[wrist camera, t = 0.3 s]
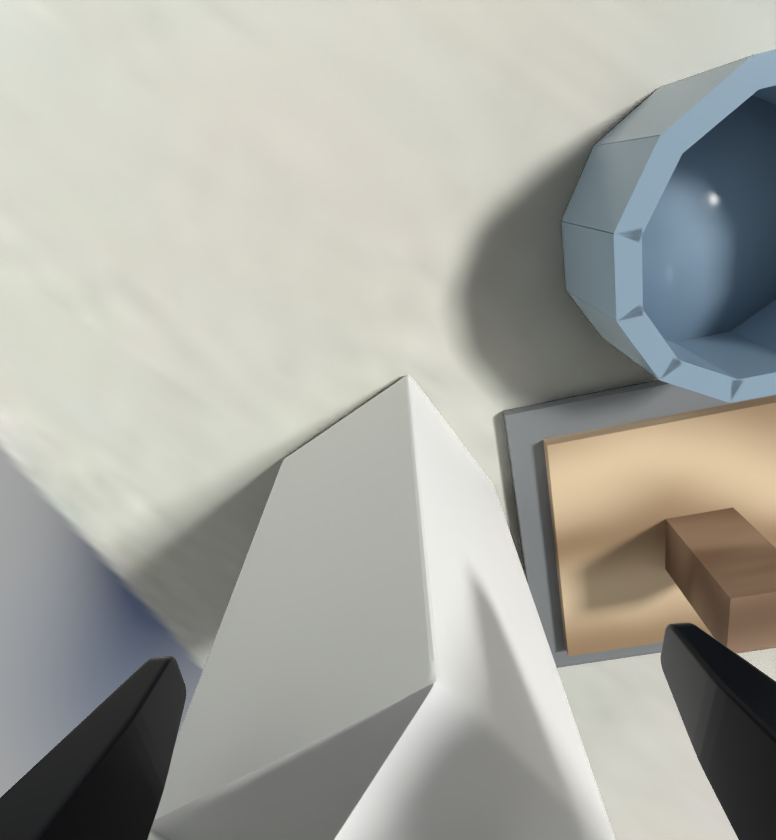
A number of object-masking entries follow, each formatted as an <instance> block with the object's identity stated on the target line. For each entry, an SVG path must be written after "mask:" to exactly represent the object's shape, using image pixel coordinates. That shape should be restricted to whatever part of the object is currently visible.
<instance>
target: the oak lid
mask: <svg viewBox="0 0 776 840" xmlns="http://www.w3.org/2000/svg"><path fill="white" fill-rule="evenodd" d="M543 441H544V451H545V460H546V470H547V480H548V489H549V499H550V508H551V518H552V527H553V537H554V547H555V556H556V566H557V575H558V585H559V595H560V604H561V614H562V623H563V633H564V643H565V649H566V651H567V654H568V656H575V655H581V654H588V653H595V652H601V651H608V650H615V649H621V648H628V647H635V646H641V645H648V644H655V643H661V642H663V639H664V633H665V629H666V627H667V625H668V624H673V623H692V624H694V625H696V626H698V627H699V628H700V629H702V630H703V631H705V632H706V633H708V634H709V635H713V637H714V638H715V639H716V640H717V641H719V642H720V643H722V644H723V645H725V646H726V647H727V648H729V649H730V650H732V651H733V652H735V653H743V652H749V651H756V650H763V649H770V648H776V395H774V396H769V397H764V398H758V399H753V400H748V401H743V402H737V403H732V404H727V405H721V406H716V407H711V408H706V409H700V410H695V411H690V412H685V413H679V414H674V415H669V416H663V417H658V418H653V419H648V420H642V421H637V422H632V423H626V424H621V425H616V426H611V427H605V428H600V429H595V430H589V431H584V432H579V433H574V434H568V435H563V436H558V437H552V438H547V439H543Z"/></svg>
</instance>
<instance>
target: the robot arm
mask: <svg viewBox="0 0 776 840" xmlns="http://www.w3.org/2000/svg"><path fill="white" fill-rule="evenodd" d="M661 665H662V669H663V672H664V674H665V677H666V679H667V682H668V685H669V687H670V690H671V692H672V695H673V697H674V700H675V702H676V705H677V707H678V710H679V712H680V715H681V717H682V720H683V723H684V725H685V728H686V730H687V733H688V735H689V738H690V740H691V743H692V745H693V748H694V750H695V752H696V755H697V757H698V760H699V762H700V764H701V766H702V768H703V770H704V772H705V774H706V776H707V778H708V780H709V782H710V784H711V786H712V788H713V790H714V792H715V794H716V796H717V798H718V800H719V802H720V804H721V806H722V808H723V810H724V812H725V814H726V815H727V817H728V819H729V821H730V823H731V825H732V827H733V829H734V831H735V833H736V835H737V837H738V839H739V840H776V681H774V680H773V679H771V678H770V677H769V676H767V675H766V674H764V673H763V672H761V671H760V670H759V669H757V668H756V667H754V666H753V665H752V664H750V663H749V662H747V661H746V660H744V659H743V658H742V657H740V656H739V655H737V654H736V653H735V652H733V651H732V650H730V649H729V648H727V647H726V646H725V645H723V644H722V643H720V642H719V641H717V640H716V639H715V638H713V637H712V636H710V635H709V634H708V633H706V632H705V631H703V630H702V629H700V628H699V627H698V626H696V625H694V624H692V623H673V624H668V625H667V627H666V629H665V633H664V639H663V645H662V651H661ZM185 699H186V687H185V683H184V681H183V678H182V675H181V672H180V669H179V667H178V664H177V661H176V660H175V658H173V657H171V656H167V657H154V658H151V659H149V660H148V661H147V662H145V663H144V664H143V665H142V666H141V667H140V668H139V669H138V670H137V671H136V672H135V673H134V674H133V675H132V676H130V677H129V679H127V680H126V681H125V682H124V683H123V684H122V685H121V686H120V687H119V688H118V689H117V690H116V691H114V692H113V693H112V694H111V695H110V696H109V697H108V698H107V699H106V700H105V701H104V702H103V703H102V704H100V705H99V706H98V707H97V708H96V709H95V710H94V711H93V712H92V713H91V714H90V715H89V716H88V717H87V718H86V719H84V721H82V722H81V723H80V724H79V725H78V726H77V727H76V728H75V729H74V730H73V731H72V732H71V733H70V734H68V735H67V736H66V737H65V738H64V739H63V740H62V741H61V742H60V743H59V744H58V745H57V746H56V747H54V749H52V750H51V751H50V752H49V753H48V754H47V755H46V756H45V757H44V758H43V759H42V760H41V761H40V762H38V763H37V764H36V765H35V766H34V767H33V768H32V769H31V770H30V771H29V772H28V773H27V774H26V775H24V776H23V777H22V778H21V779H20V780H19V781H18V782H17V783H16V784H15V785H14V786H13V787H12V788H11V789H9V790H8V791H7V792H6V793H5V794H4V795H3V796H2V797H1V798H0V840H147V839H148V836H149V833H150V830H151V827H152V824H153V821H154V819H155V816H156V813H157V810H158V807H159V804H160V800H161V797H162V794H163V791H164V787H165V784H166V780H167V776H168V772H169V768H170V763H171V759H172V755H173V751H174V746H175V742H176V737H177V733H178V729H179V725H180V721H181V716H182V712H183V708H184V703H185Z"/></svg>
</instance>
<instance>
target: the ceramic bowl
mask: <svg viewBox="0 0 776 840" xmlns="http://www.w3.org/2000/svg"><path fill="white" fill-rule="evenodd" d="M561 221H562V222H561V226H562V240H563V253H564V267H565V281H566V291H567V292H568V293H569V295H570V296H571V297H572V299H573V300H574V301H575V303H576V304H577V305H578V307H579V308H580V309H581V310H582V312H583V313H584V314H585V316H586V317H587V318H588V320H589V321H590V322H591V324H592V325H593V326H594V328H595V329H596V330H597V332H598V333H599V334H600V336H601V337H602V338H603V339H605V340H606V341H607V342H609V343H610V344H611V345H613V346H614V347H615V348H617V349H618V350H620V351H621V352H622V353H624V354H625V355H626V356H628V357H629V358H630V359H632V360H633V361H634V362H636V363H637V364H638V365H640V366H641V367H643V368H644V369H645V370H647V371H648V372H649V373H651V374H652V375H653V376H655V377H656V378H657V379H659V380H660V381H663V382H666V383H669V384H673V385H676V386H679V387H682V388H685V389H688V390H691V391H694V392H697V393H701V394H704V395H707V396H710V397H713V398H716V399H719V400H722V401H725V402H729V403H733V402H738V401H743V400H748V399H754V398H759V397H764V396H770V395H775V394H776V50H772V51H768V52H764V53H760V54H755V55H752V56H749V57H746V58H743V59H740V60H737V61H734V62H732V63H729V64H726V65H723V66H720V67H717V68H714V69H711V70H708V71H705V72H703V73H700V74H697V75H694V76H691V77H688V78H685V79H682V80H679V81H676V82H674V83H671V84H668V85H665V86H662V87H659V88H658V89H657V90H656V91H654V92H653V93H652V94H651V95H650V96H649V97H648V98H647V99H646V100H644V101H643V102H642V103H641V104H640V105H639V106H638V107H637V108H635V109H634V110H633V111H632V112H631V113H630V114H629V115H628V116H627V117H625V118H624V119H623V120H622V121H621V122H620V123H619V124H618V125H616V126H615V127H614V128H613V129H612V130H611V131H610V132H609V133H608V134H606V135H605V136H604V137H603V138H602V139H601V140H600V141H599V142H597V143H596V144H595V145H594V146H593V148H592V151H591V153H590V155H589V158H588V160H587V162H586V165H585V167H584V169H583V172H582V174H581V176H580V179H579V181H578V183H577V186H576V188H575V190H574V193H573V195H572V197H571V199H570V202H569V204H568V206H567V209H566V211H565V213H564V216H563V218H562V220H561Z"/></svg>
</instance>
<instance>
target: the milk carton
mask: <svg viewBox="0 0 776 840" xmlns="http://www.w3.org/2000/svg"><path fill="white" fill-rule="evenodd" d="M148 840H615V837H614V834H613V831H612V828H611V825H610V822H609V819H608V816H607V813H606V810H605V807H604V805H603V802H602V799H601V796H600V793H599V790H598V787H597V784H596V781H595V778H594V775H593V772H592V769H591V767H590V764H589V761H588V758H587V755H586V752H585V749H584V746H583V743H582V740H581V737H580V735H579V732H578V729H577V726H576V723H575V720H574V717H573V714H572V711H571V708H570V705H569V702H568V700H567V697H566V694H565V691H564V688H563V685H562V682H561V679H560V676H559V673H558V670H557V668H556V665H555V662H554V659H553V656H552V653H551V650H550V647H549V644H548V641H547V638H546V635H545V633H544V630H543V627H542V624H541V621H540V618H539V615H538V612H537V609H536V606H535V603H534V600H533V598H532V595H531V592H530V589H529V586H528V583H527V580H526V577H525V574H524V571H523V568H522V566H521V563H520V560H519V557H518V554H517V551H516V548H515V545H514V542H513V539H512V536H511V533H510V531H509V528H508V525H507V522H506V519H505V516H504V513H503V510H502V507H501V504H500V501H499V499H498V496H497V493H496V490H495V487H494V486H493V484H492V482H491V481H490V480H489V478H488V477H487V475H486V474H485V473H484V471H483V470H482V469H481V468H480V466H479V465H478V464H477V462H476V461H475V460H474V458H473V457H472V456H471V454H470V453H469V452H468V450H467V449H466V448H465V446H464V445H463V444H462V442H461V441H460V440H459V438H458V437H457V436H456V434H455V433H454V432H453V430H452V429H451V428H450V427H449V425H448V424H447V423H446V421H445V420H444V419H443V417H442V416H441V415H440V413H439V412H438V411H437V409H436V408H435V407H434V405H433V404H432V403H431V401H430V400H429V399H428V397H427V396H426V395H425V393H424V392H423V391H422V390H421V388H420V387H419V386H418V384H417V383H416V382H415V381H414V379H413V378H412V377H411V376H410V375H407V376H405V377H403V378H402V379H400V380H399V381H398V382H396V383H395V384H393V385H392V386H390V387H389V388H387V389H386V390H384V391H383V392H381V393H380V394H378V395H377V396H376V397H374V398H373V399H371V400H370V401H368V402H367V403H365V404H364V405H362V406H361V407H359V408H358V409H357V410H355V411H354V412H352V413H351V414H349V415H348V416H346V417H345V418H343V419H342V420H340V421H339V422H337V423H336V424H335V425H333V426H332V427H330V428H329V429H327V430H326V431H324V432H323V433H321V434H320V435H318V436H317V437H315V438H314V439H313V440H311V441H310V442H308V443H307V444H305V445H304V446H302V447H301V448H299V449H298V450H296V451H295V452H294V453H292V454H291V455H289V456H288V457H286V458H285V459H284V460H283V462H282V464H281V467H280V469H279V472H278V475H277V477H276V480H275V482H274V485H273V488H272V490H271V493H270V496H269V498H268V501H267V503H266V506H265V509H264V511H263V514H262V517H261V519H260V522H259V524H258V527H257V530H256V532H255V535H254V538H253V540H252V543H251V545H250V548H249V551H248V553H247V556H246V559H245V561H244V564H243V567H242V569H241V572H240V574H239V577H238V580H237V582H236V585H235V588H234V590H233V593H232V595H231V598H230V601H229V603H228V606H227V609H226V611H225V614H224V616H223V619H222V622H221V624H220V627H219V630H218V632H217V635H216V637H215V640H214V643H213V645H212V648H211V651H210V653H209V656H208V659H207V661H206V664H205V666H204V669H203V672H202V674H201V677H200V680H199V682H198V685H197V687H196V690H195V693H194V695H193V698H192V701H191V703H190V706H189V708H188V711H187V714H186V716H185V719H184V722H183V724H182V727H181V729H180V733H179V735H178V737H177V740H176V743H175V746H174V751H173V755H172V759H171V763H170V768H169V772H168V776H167V780H166V784H165V787H164V791H163V794H162V797H161V800H160V804H159V807H158V810H157V813H156V816H155V819H154V821H153V824H152V827H151V830H150V833H149V836H148Z"/></svg>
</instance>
